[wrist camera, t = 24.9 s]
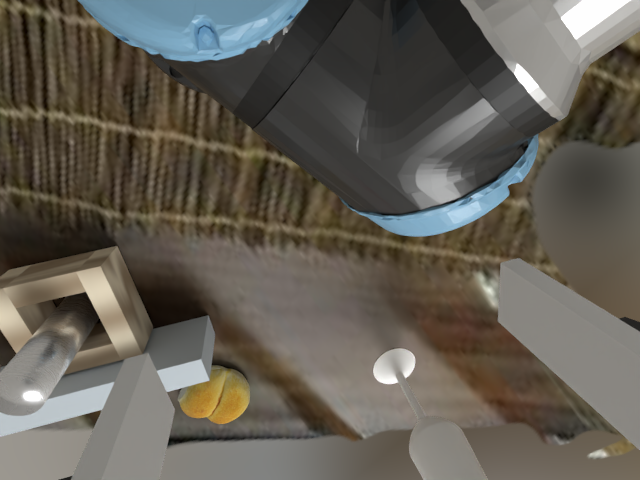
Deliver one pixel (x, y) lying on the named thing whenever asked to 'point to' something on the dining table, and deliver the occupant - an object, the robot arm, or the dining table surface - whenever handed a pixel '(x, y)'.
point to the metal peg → (46, 356)
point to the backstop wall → (96, 383)
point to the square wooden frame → (73, 278)
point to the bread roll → (217, 396)
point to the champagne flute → (430, 428)
